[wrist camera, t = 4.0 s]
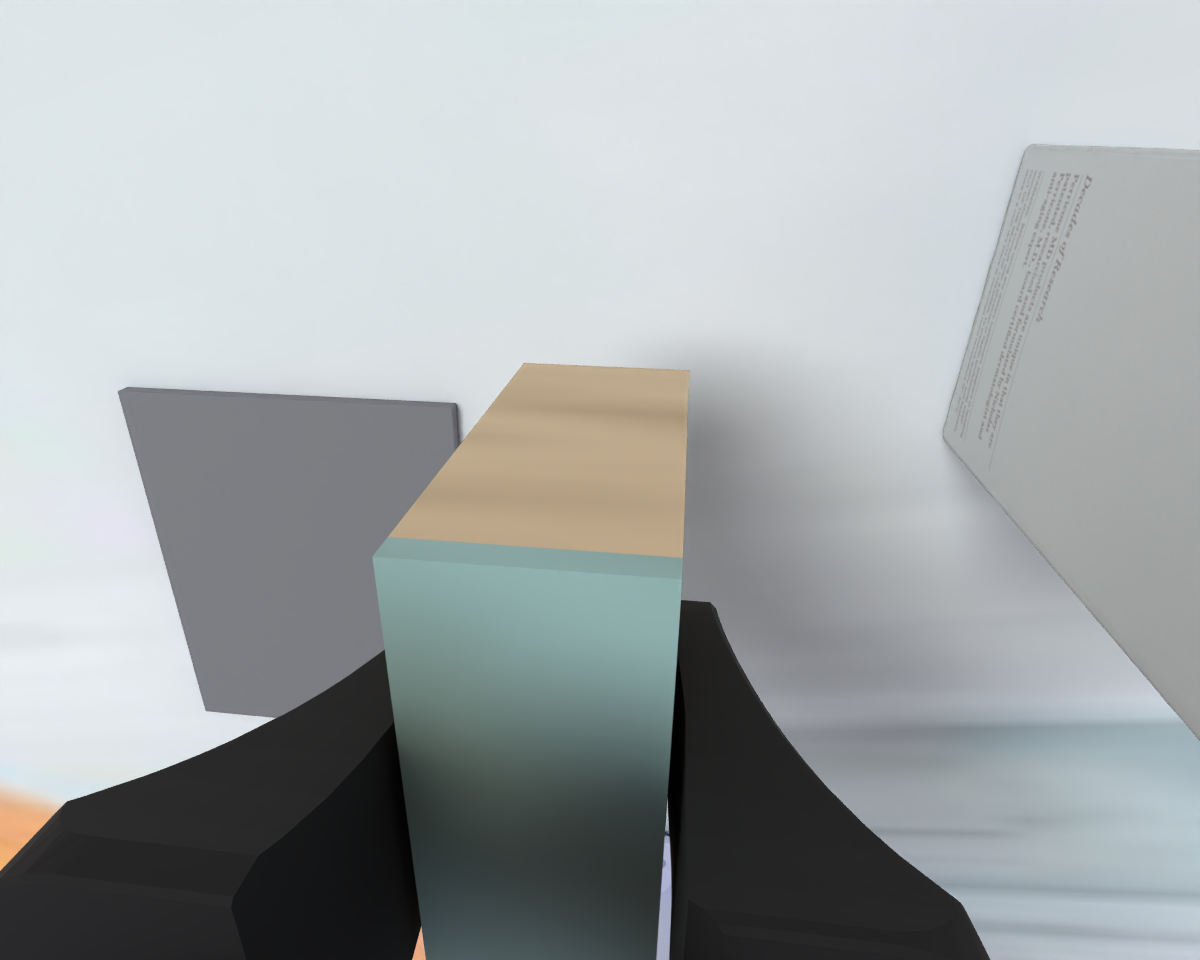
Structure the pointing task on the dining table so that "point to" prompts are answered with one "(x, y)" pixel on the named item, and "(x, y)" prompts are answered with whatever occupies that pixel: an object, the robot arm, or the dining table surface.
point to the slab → (542, 666)
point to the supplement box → (1099, 392)
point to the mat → (279, 528)
